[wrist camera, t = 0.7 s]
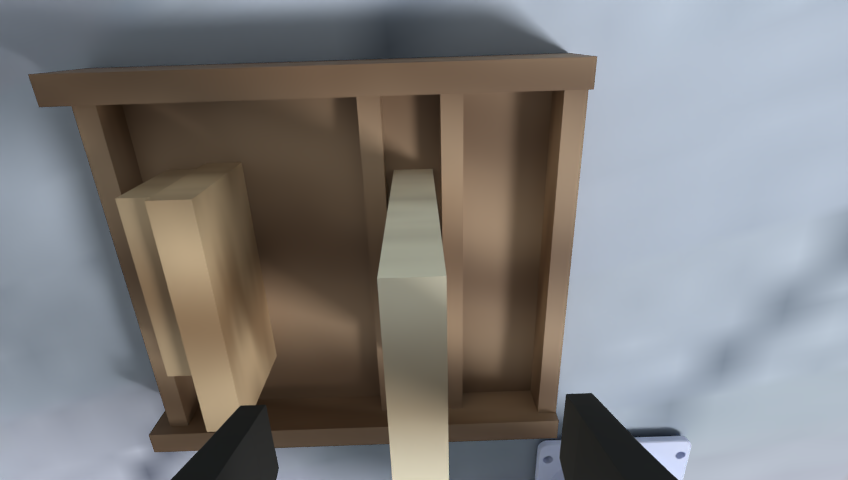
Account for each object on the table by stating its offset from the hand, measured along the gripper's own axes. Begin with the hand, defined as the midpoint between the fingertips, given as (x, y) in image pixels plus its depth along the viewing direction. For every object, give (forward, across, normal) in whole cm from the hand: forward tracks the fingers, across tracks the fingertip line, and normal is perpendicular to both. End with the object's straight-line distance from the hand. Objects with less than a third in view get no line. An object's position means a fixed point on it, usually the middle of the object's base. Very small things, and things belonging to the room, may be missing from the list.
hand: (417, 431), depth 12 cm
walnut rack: (+10, +3, 0) cm, 11 cm away
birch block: (+9, 0, 0) cm, 9 cm away
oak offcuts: (+9, +8, 0) cm, 12 cm away
